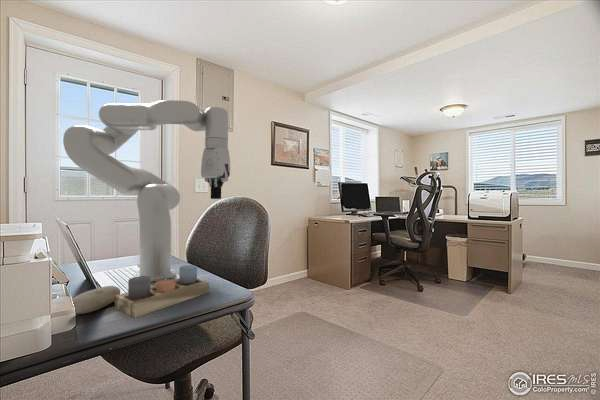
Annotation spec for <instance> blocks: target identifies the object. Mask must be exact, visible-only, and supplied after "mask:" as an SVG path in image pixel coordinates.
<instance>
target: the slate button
mask: <svg viewBox="0 0 600 400" xmlns="http://www.w3.org/2000/svg"><path fill="white" fill-rule="evenodd" d="M178 272H179V277H178V279H179V282H180V283H184V284H187V283H193V282H196V281H197V279H198V266H197V265H196V264H195V265H194V264H193V265H192V264H191V265H190V264H188V265H181V266H179V271H178Z"/></svg>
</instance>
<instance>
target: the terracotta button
mask: <svg viewBox="0 0 600 400" xmlns="http://www.w3.org/2000/svg"><path fill="white" fill-rule="evenodd" d="M155 285H156V291H157V292H160V293H165V292H168V291H171V290H175V279H166V280H161V281H155Z"/></svg>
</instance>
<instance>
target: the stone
mask: <svg viewBox="0 0 600 400" xmlns="http://www.w3.org/2000/svg"><path fill="white" fill-rule="evenodd" d="M119 294H121V289H120V287H118V286H116V285H115V286H114V285H107V286H101V287H97V288H94V289H91V290H87V291H83V292H82V293H80V294H77V295H75V296H74V297H73V298H72V299H71V300H72V301H73V304H74V307H75V312H76V313H75V314H78V315H79V314H80V315H83V314H89V313H92V312H93V313H94V312H95V311H99V310H101V309H103V308H105V307H106V306H109V305H110V304H112V303H115V296H116V295H119Z"/></svg>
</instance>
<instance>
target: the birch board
mask: <svg viewBox="0 0 600 400" xmlns="http://www.w3.org/2000/svg"><path fill="white" fill-rule="evenodd" d="M174 280H175V290H171V291H168V292H165V293H160V292H157V291H156V284H153V285H150V295H148V296H146V297H142V298H129V297H128V292H124V293H120V294H119V295H116V296H115V301H114V309H117V310H118V311H121V312H123V313H124V314H127V315H129V316H131V317H133V318H135V319H136V318H139V317H142V316H145V315H148V314H150V313H153V312H156V311H159V310H162V309H165V308H167V307H170V306H173V305H176V304H179V303H182V302H184V301H188V300H190V299H191V300H192V299H194V298H196V297H199V296H202V295H205V294H208V293H210V282H209V281H206V280H203V279H200V278H197V281H196V282H193V283H187V284H184V283H180V282H179V278H175V279H174Z"/></svg>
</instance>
